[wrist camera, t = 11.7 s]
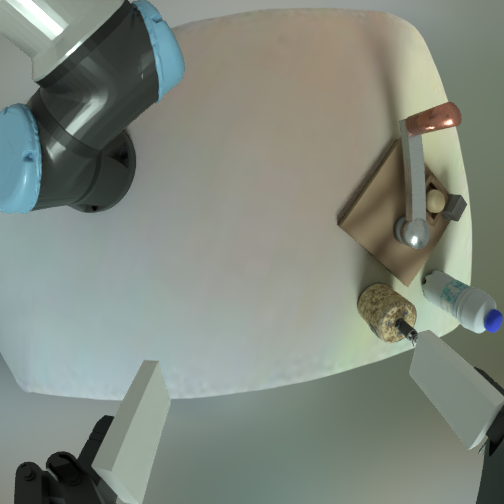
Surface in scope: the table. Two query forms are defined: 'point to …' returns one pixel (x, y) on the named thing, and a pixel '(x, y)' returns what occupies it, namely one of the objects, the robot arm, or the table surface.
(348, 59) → the table surface
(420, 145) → the lever
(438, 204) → the nut
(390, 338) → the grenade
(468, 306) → the bottle
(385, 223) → the square wooden tray
